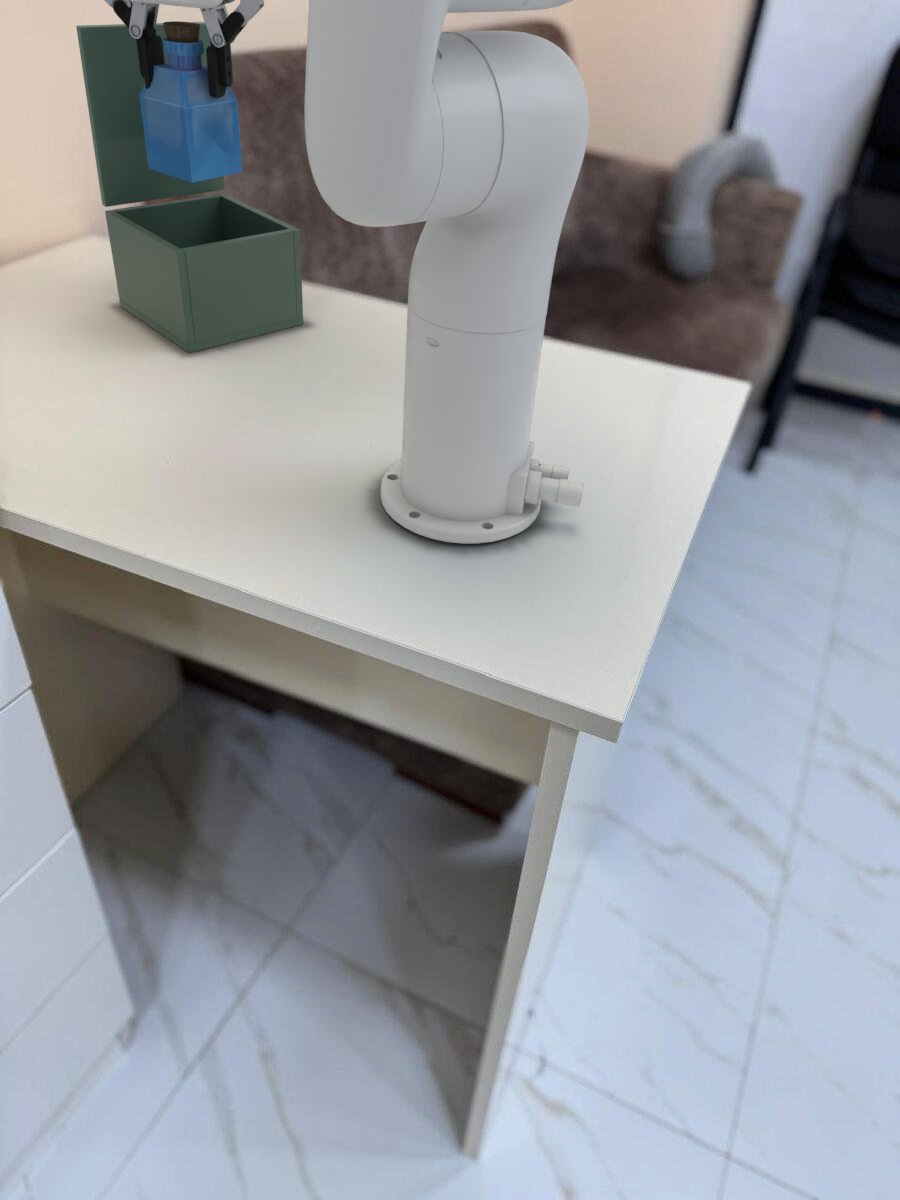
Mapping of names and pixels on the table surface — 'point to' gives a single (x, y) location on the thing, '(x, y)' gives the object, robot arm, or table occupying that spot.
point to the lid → (126, 117)
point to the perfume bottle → (189, 113)
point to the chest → (207, 269)
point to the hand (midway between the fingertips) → (188, 89)
